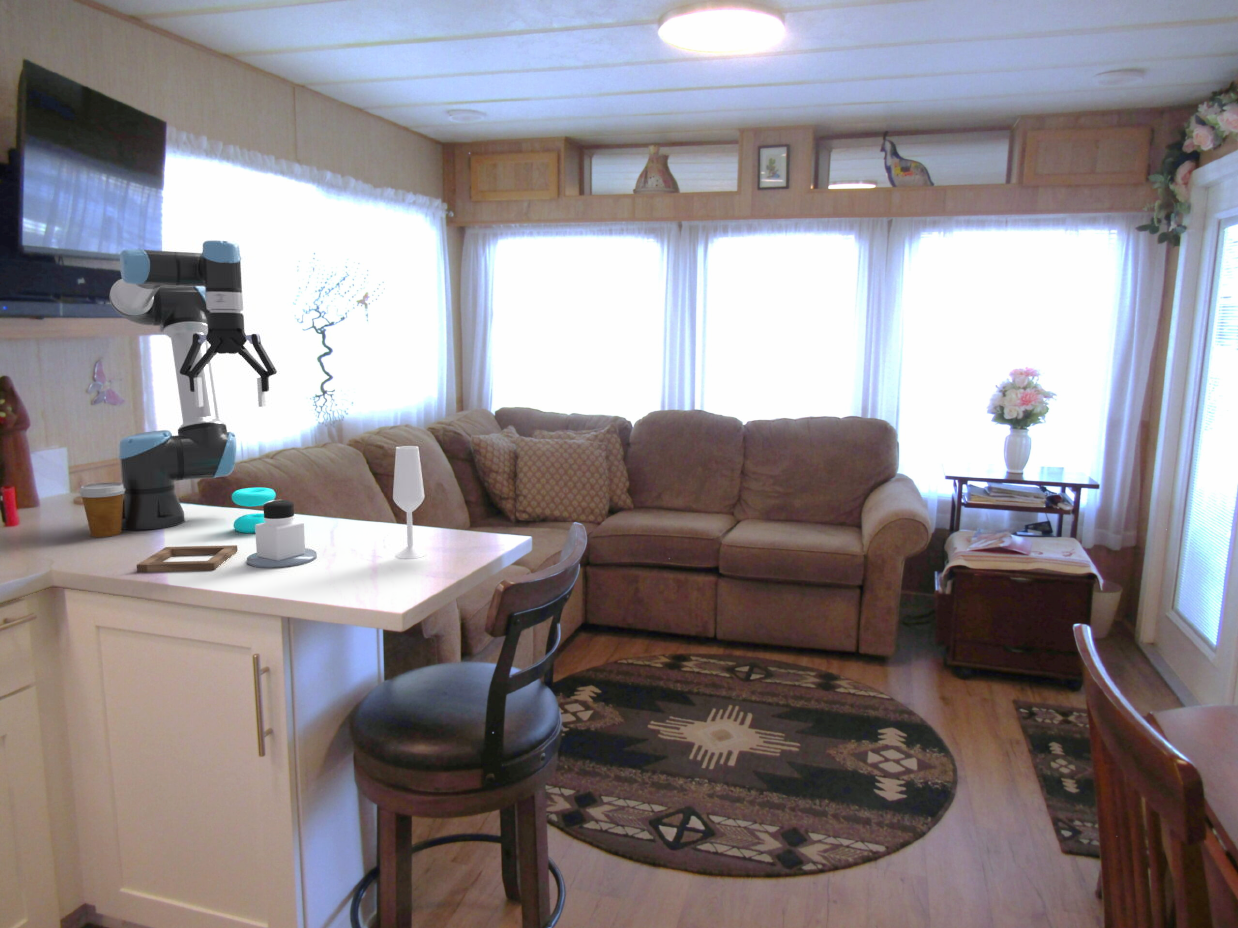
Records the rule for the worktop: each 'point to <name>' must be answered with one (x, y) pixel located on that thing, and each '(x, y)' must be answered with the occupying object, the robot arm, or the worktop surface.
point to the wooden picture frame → (158, 565)
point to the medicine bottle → (279, 532)
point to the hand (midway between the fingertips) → (230, 406)
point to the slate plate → (297, 560)
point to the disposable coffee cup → (103, 508)
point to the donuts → (251, 499)
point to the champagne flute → (408, 492)
